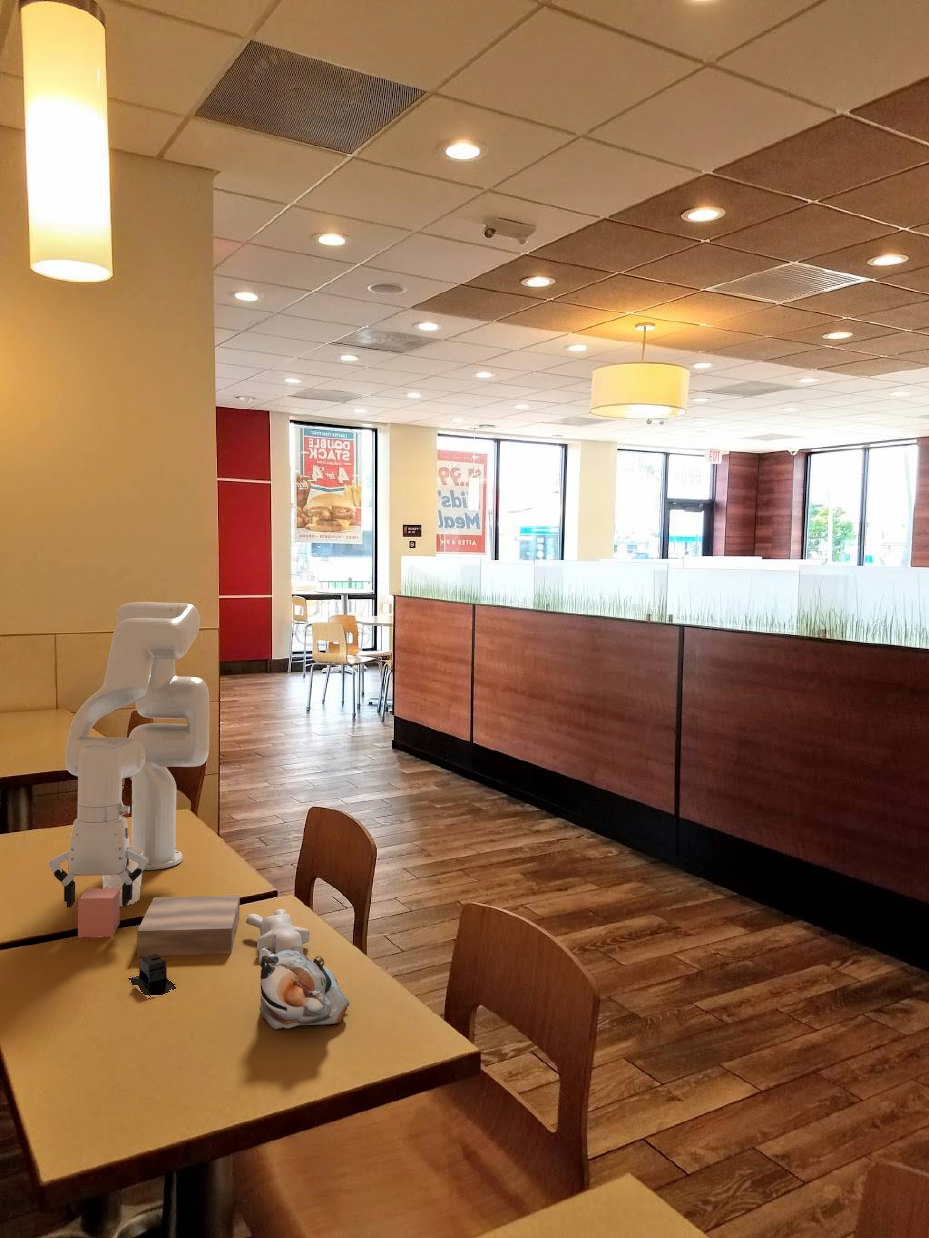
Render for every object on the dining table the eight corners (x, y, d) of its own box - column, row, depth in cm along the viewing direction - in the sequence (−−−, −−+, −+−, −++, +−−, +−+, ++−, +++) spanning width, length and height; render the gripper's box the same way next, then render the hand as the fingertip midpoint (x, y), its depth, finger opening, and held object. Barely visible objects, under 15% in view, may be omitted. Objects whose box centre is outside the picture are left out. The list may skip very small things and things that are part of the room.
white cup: (149, 895, 190) (149, 847, 189) (131, 909, 182) (132, 859, 181) (112, 892, 190) (113, 845, 190) (93, 906, 183) (93, 857, 182)
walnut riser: (153, 922, 177) (153, 897, 176) (239, 920, 179) (239, 895, 179) (137, 958, 161) (137, 930, 161) (231, 955, 163) (231, 928, 163)
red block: (86, 925, 174) (86, 888, 173) (119, 924, 175) (119, 887, 174) (77, 938, 168) (78, 900, 167) (112, 936, 169) (112, 899, 168)
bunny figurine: (266, 945, 158) (241, 905, 171) (265, 972, 159) (239, 931, 171) (318, 935, 163) (290, 897, 175) (317, 962, 164) (288, 922, 176)
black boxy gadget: (189, 994, 149) (190, 967, 148) (145, 1007, 144) (145, 979, 144) (158, 968, 158) (158, 941, 158) (115, 979, 153) (115, 952, 153)
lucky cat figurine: (365, 1015, 142) (357, 956, 135) (304, 1070, 135) (291, 1011, 128) (304, 960, 151) (293, 902, 144) (243, 1009, 144) (228, 951, 137)
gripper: (152, 807, 175) (150, 896, 175) (55, 807, 172) (54, 898, 173) (144, 817, 167) (143, 910, 168) (43, 818, 165) (42, 912, 165)
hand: (98, 904), depth 170 cm, fingers open, 9 cm apart
